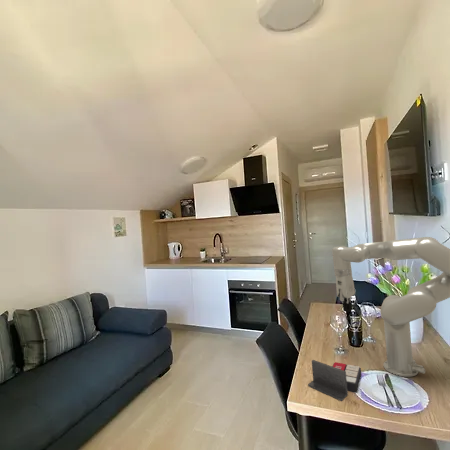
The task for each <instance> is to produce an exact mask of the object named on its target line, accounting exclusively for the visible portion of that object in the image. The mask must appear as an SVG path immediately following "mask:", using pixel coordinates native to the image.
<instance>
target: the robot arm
mask: <svg viewBox="0 0 450 450" xmlns="http://www.w3.org/2000/svg"><path fill="white" fill-rule="evenodd" d="M331 249H332V251H331V253H332V261H333V268H334V269H333V270H334V276H335V287H336V288H335V289H336V295H337V298H339V301H340V302H341V303H342V310H343V312H347V313H350V312H352V303H351V302H352V297H353V296H355V294H356V289H355V282H354V279H353V272H352V263H363V262H364V261H365V260H371V259H387V260H393V261H401V260H402V261H403V260H404V261H405V260H415V259H418V260H419V259H420V260H422V261H424V262H425V263H427V264H429V265H430V266H432V267H434V268H436V269H437V270H439V271H441V272H442V273H441V274H439V275H438V276H436V277H434V278H432V279H429V280H427V281H425V282H423V283H421V284H418V285H417V284H416V285H414V286H412V287H410V288H409V289H408V291H407V292H406V293H407V294H404V295H403V296H402V295H401V296H400V295H398V294H397V295H395V294H392V295H388V296H387V297H385V298H384V299H383V302H382V304H381V306H380V316H381V318H382V319H383V325H384V328H383V329H384V339H385V350H386V360H385V361H384V362H383V368H384V370H386V372H388V373H390V374H392V373H393V374H392V375H395V374H396V375H395V376H398V375H399V376H398V377H406V378H409V377H410V378H411V377H415V376H417V375H418V374H419V373H421V374H423V375H425V374H426V368H424V365H420V364H417V363H416V359H414V357H413V348H412V333H411V322H413V321H417V320H420V319H421V318H424V317H426V316H429V315H430V314H432V313H433V312H434V311H435V310H436V307H437V304H438V303H441V302H443V301H445V300H448V299H450V247H447V246H446V245H444V244H442V243H441V242H440V241H438V240H437V239H436V238H434V237H433V236H432V237H431V236H424V237H423V236H422V237H414V238H413V237H412V238H403V239H393V240H392V239H391V240H386V241H377V242H376V241H375V242H368V243H367V242H365V243H359V244H356V245H353V246H351V247H350V246H349V247H348V246H343V245H341V246H333V248H331Z"/></svg>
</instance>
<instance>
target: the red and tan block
mask: <svg viewBox="0 0 450 450" xmlns="http://www.w3.org/2000/svg"><path fill="white" fill-rule="evenodd" d="M332 367H335V368H338V369H341V370H343V371H346V379H347V391H348V392H350V393H355V394H357V393H358V390H359V385H360V381H361V378H362V368H361V367H360V366H359V365H352V364H346V363H342V362H337V361H335V362H333V365H332ZM360 377H361V378H360Z"/></svg>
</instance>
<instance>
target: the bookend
mask: <svg viewBox="0 0 450 450" xmlns="http://www.w3.org/2000/svg"><path fill="white" fill-rule="evenodd" d="M332 366H333V365H332ZM332 366H331V365H328V364H327V363H323V362H320V361H318V360H316V359H312V360H311V369H312V370H311V372H312V381H311V382H309V383H308V385H307V386H308V387H309V388H311V389H313V390H316V391H318V392H319V393H322V394H324V395H327V396H329V397H331V398H333V399H336V400H338V401H339V402H342V401H344V400H345V398H346V397H347V396H349V391H347V379H346V371H343V370H341V369H338V368H335V367H332Z"/></svg>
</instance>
